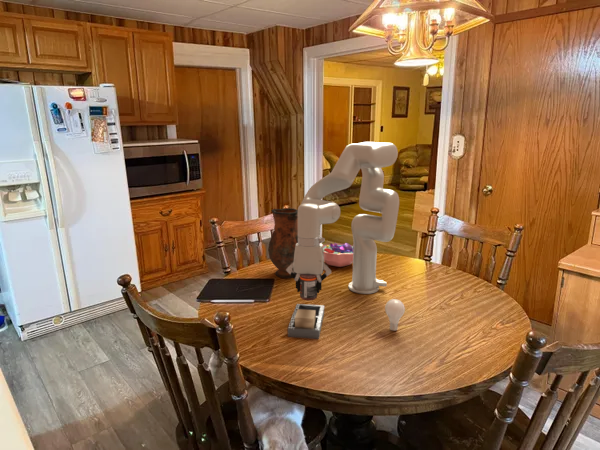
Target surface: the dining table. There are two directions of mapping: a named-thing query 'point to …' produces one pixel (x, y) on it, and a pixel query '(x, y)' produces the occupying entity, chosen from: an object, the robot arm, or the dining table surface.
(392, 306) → the lightbulb
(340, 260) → the cell model
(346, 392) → the dining table surface
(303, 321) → the birch block
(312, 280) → the supplement bottle
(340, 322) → the dining table surface
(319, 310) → the tray
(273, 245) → the pitcher
